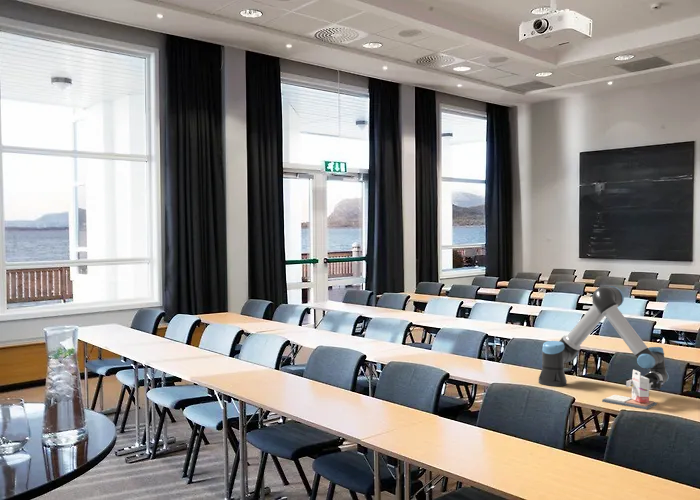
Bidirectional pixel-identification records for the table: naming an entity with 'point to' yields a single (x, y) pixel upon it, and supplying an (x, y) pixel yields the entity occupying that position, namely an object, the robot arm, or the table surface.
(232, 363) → the table surface
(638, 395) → the ink cartridge box
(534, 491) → the table surface
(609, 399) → the tile board
